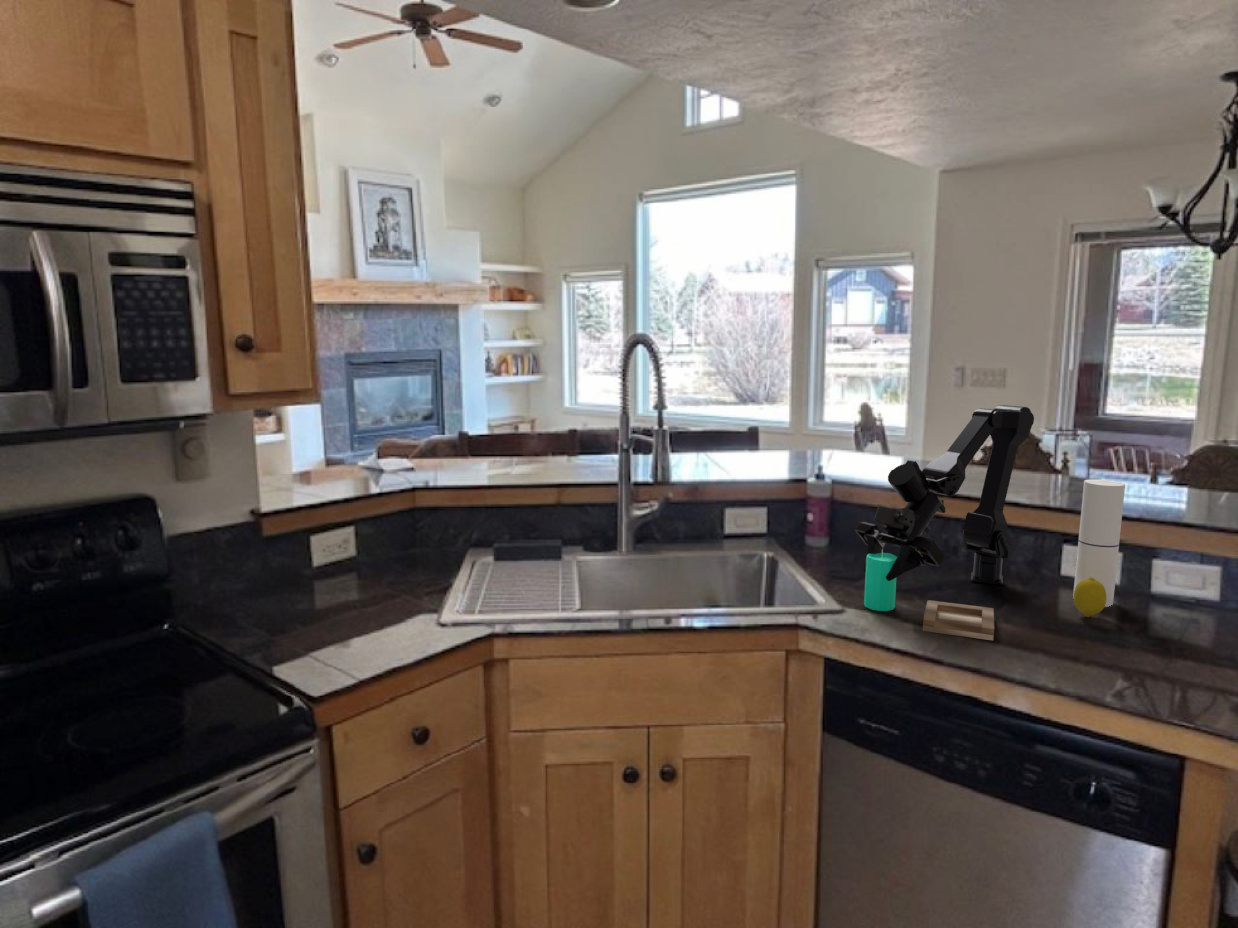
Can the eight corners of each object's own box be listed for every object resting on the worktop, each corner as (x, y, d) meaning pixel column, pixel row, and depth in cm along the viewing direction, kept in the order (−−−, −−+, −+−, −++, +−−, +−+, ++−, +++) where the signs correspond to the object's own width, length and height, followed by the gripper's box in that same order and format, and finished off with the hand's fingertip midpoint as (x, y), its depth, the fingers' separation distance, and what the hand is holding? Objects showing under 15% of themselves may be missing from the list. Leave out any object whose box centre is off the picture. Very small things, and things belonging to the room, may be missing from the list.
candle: (895, 602, 166) (898, 546, 164) (894, 612, 160) (898, 554, 158) (864, 599, 168) (867, 543, 166) (863, 609, 162) (866, 551, 160)
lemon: (1095, 612, 160) (1099, 573, 159) (1109, 622, 155) (1113, 582, 154) (1066, 611, 161) (1070, 572, 160) (1079, 621, 155) (1083, 581, 154)
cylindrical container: (1075, 604, 165) (1087, 484, 161) (1070, 593, 172) (1081, 478, 168) (1115, 608, 162) (1128, 486, 158) (1109, 598, 169) (1121, 480, 165)
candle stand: (926, 610, 162) (927, 600, 161) (992, 619, 157) (993, 608, 156) (922, 630, 151) (923, 619, 150) (993, 640, 146) (994, 628, 146)
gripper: (863, 484, 170) (822, 541, 167) (938, 499, 155) (895, 564, 151) (886, 516, 176) (848, 572, 172) (961, 534, 160) (921, 597, 156)
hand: (876, 575), depth 162 cm, fingers closed on candle, 5 cm apart
